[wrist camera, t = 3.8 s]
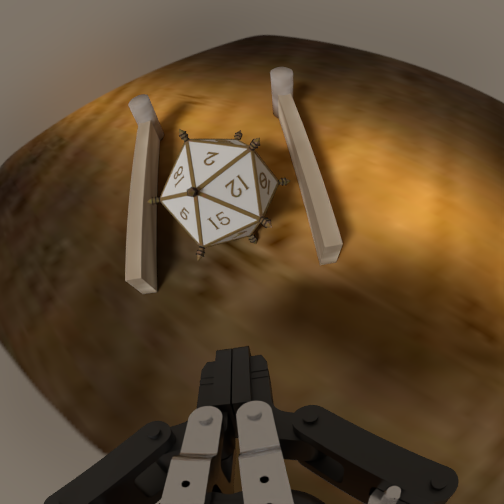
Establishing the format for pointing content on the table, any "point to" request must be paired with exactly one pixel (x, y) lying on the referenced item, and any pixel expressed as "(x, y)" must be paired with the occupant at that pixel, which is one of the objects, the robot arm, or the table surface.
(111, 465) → the robot arm
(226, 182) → the game die
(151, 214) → the chute
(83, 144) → the table surface
